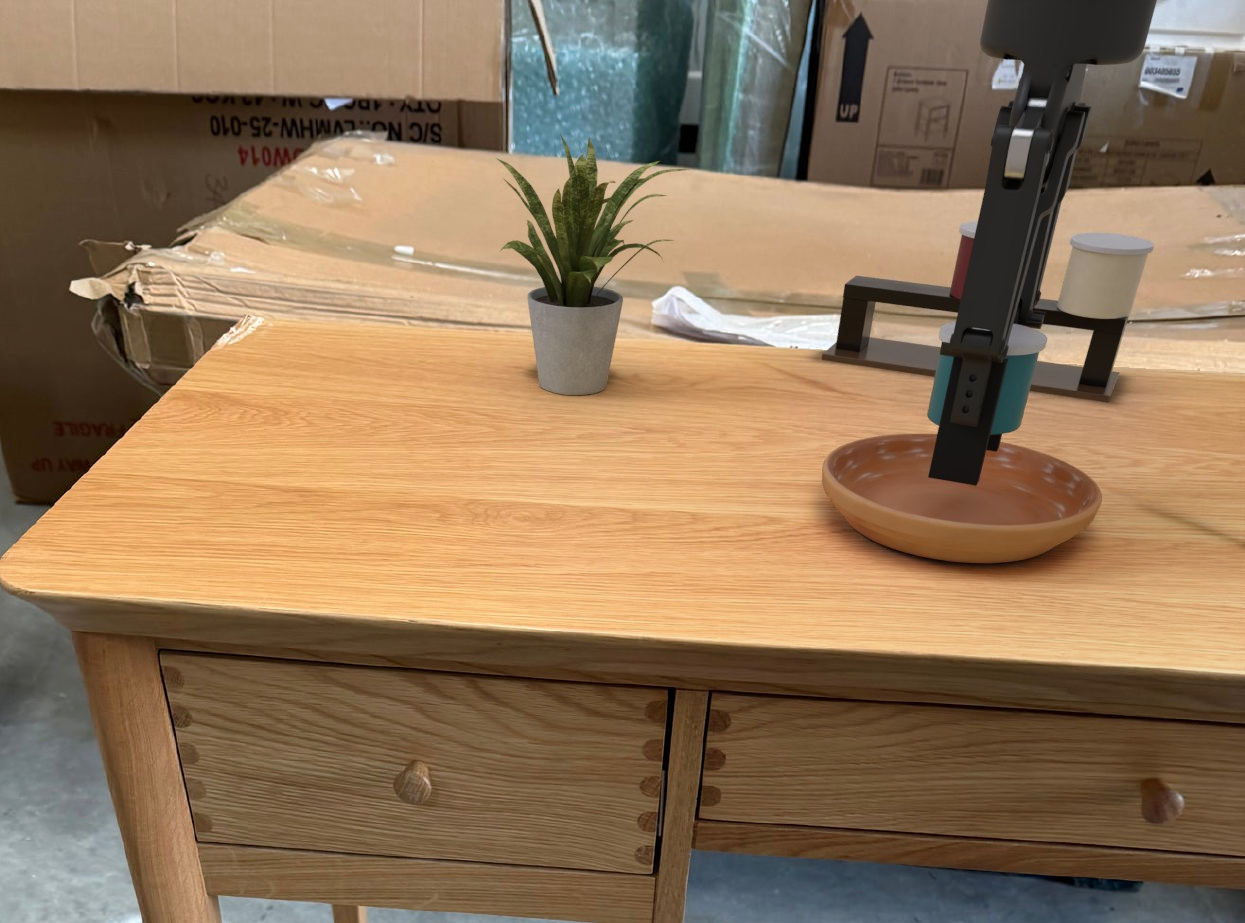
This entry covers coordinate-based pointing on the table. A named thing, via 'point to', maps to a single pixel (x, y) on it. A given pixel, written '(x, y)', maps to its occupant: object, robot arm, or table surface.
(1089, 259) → the cup
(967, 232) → the burgundy pod
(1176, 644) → the table surface
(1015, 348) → the teal pod
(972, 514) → the saucer
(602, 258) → the house plant
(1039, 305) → the stand
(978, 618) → the table surface
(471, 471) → the table surface
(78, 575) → the table surface
